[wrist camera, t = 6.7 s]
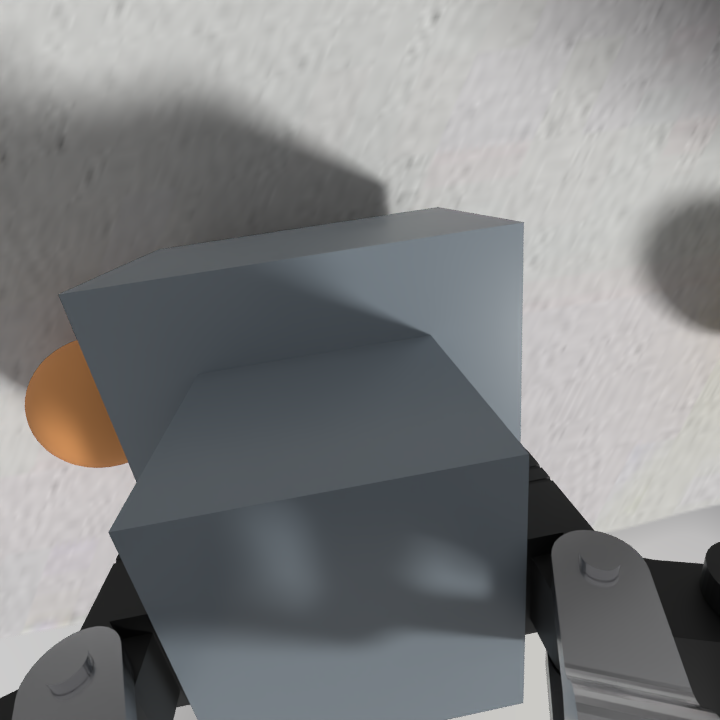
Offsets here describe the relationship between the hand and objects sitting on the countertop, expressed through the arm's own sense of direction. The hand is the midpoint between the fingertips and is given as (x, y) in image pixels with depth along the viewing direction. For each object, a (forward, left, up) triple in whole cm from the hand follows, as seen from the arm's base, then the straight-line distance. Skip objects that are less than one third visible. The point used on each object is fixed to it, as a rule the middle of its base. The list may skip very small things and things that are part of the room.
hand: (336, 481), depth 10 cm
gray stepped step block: (0, 0, -8) cm, 8 cm away
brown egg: (+8, 0, -7) cm, 11 cm away
